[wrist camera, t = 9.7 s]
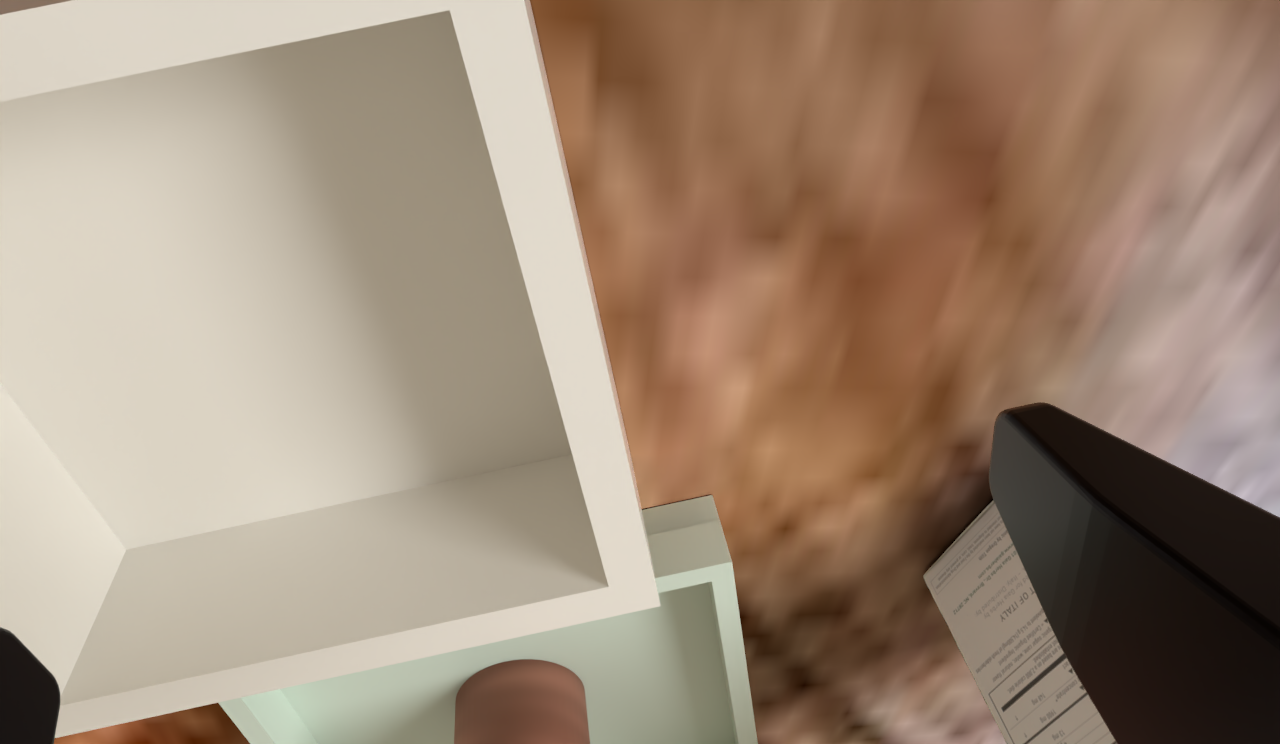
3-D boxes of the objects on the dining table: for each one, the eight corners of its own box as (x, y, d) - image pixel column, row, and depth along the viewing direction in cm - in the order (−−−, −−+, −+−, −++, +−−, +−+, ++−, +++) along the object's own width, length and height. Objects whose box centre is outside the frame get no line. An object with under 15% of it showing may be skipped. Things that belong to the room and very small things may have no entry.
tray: (712, 495, 25) (731, 561, 23) (747, 727, 32) (764, 793, 30) (222, 600, 24) (198, 677, 22) (368, 811, 32) (360, 884, 30)
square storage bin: (500, -133, 15) (504, -87, 11) (631, 457, 24) (660, 606, 19) (-309, 29, 15) (-604, 136, 11) (114, 568, 23) (36, 742, 19)
